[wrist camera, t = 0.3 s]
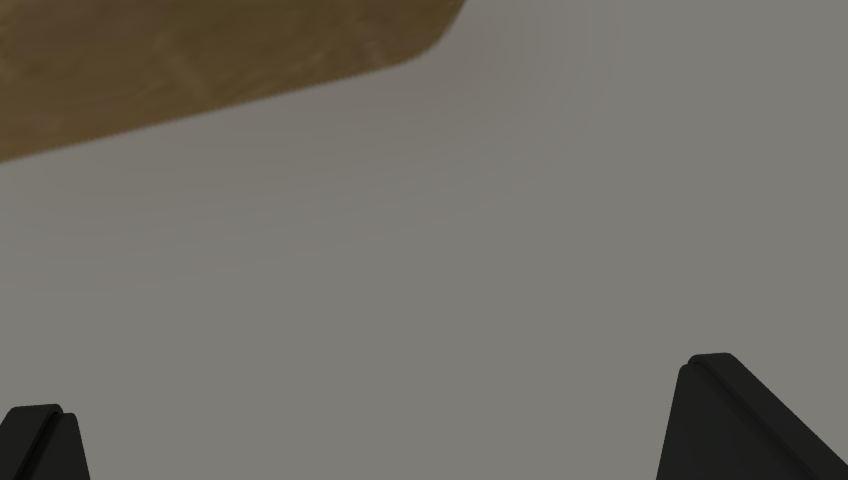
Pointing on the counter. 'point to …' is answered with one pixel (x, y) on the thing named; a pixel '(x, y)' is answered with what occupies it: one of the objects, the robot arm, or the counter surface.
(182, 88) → the counter surface
